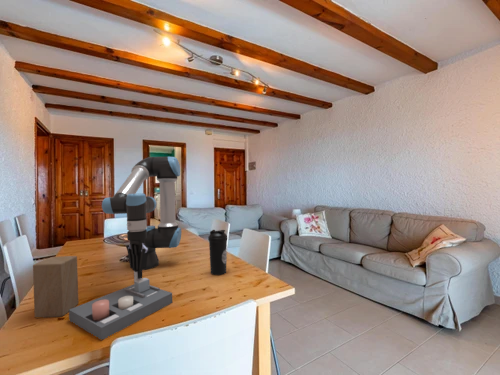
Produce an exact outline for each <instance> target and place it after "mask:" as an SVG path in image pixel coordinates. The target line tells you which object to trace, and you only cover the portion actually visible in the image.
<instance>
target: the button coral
mask: <svg viewBox="0 0 500 375" xmlns="http://www.w3.org/2000/svg"><path fill="white" fill-rule="evenodd" d="M92 317H93V321H101V320H103V319H105V318H107V317H109V300H106V299H104V300H99V301H96V302H94V303H93V304H92Z"/></svg>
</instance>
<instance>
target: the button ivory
mask: <svg viewBox="0 0 500 375" xmlns="http://www.w3.org/2000/svg"><path fill="white" fill-rule="evenodd" d="M131 306H133V296H124V297H121V298H120V299H119V300H118V308H119V309H120V310H124V309H127V308H129V307H131Z"/></svg>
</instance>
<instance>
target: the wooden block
mask: <svg viewBox="0 0 500 375" xmlns="http://www.w3.org/2000/svg"><path fill="white" fill-rule="evenodd" d="M32 276H33V303H34V305H33V306H34V318H35V317H43V318H57V317H58V318H59V317H64V316H65V315H66V314H67V313H69V309H72V308H74V307H77V306H78V305H79V281H78V280H79V279H78V278H79V276H78V256H77V255H69V256H68V255H67V256H66V255H65V256H51V257H47V258H46V259H43V260H41V261H39V262H37V263H34V264H33V265H32Z"/></svg>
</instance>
